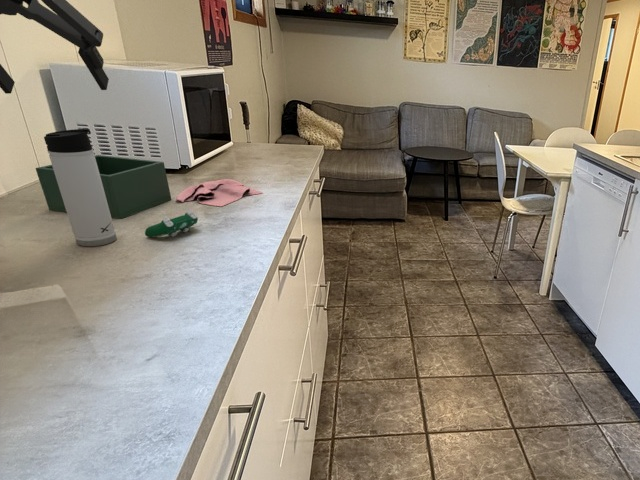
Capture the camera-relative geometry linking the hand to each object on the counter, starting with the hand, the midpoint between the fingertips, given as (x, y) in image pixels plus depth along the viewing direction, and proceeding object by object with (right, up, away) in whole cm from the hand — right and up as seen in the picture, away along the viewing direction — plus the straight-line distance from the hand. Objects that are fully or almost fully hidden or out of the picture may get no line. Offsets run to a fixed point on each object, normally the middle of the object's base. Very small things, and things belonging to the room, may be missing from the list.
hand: (58, 86), depth 76 cm
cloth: (+3, -8, +44) cm, 45 cm away
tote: (-14, -13, +32) cm, 37 cm away
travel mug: (-3, -24, +13) cm, 27 cm away
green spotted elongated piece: (+8, -21, +19) cm, 29 cm away
